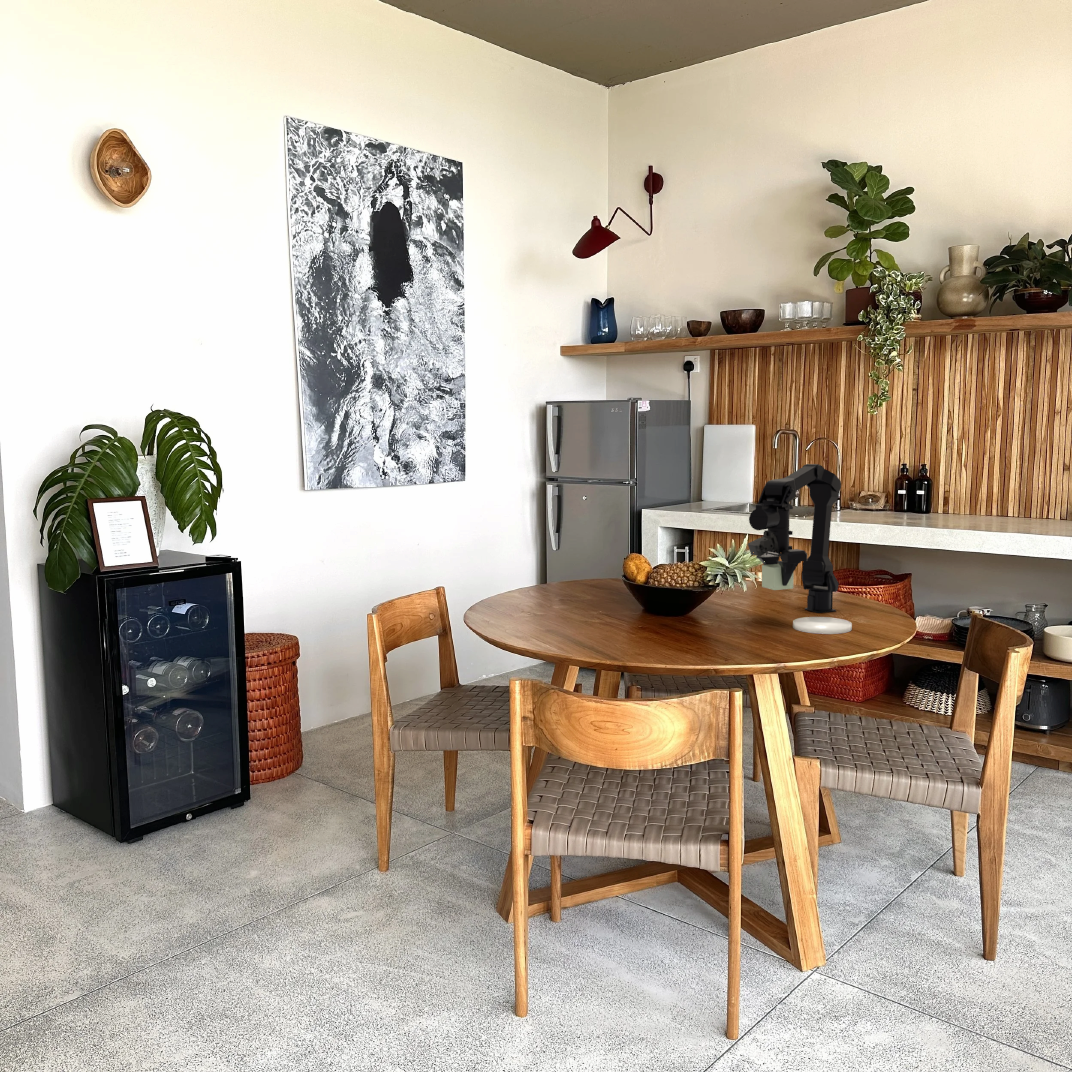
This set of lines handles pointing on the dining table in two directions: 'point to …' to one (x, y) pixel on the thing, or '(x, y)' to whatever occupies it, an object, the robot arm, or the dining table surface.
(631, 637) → the dining table surface
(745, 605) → the dining table surface
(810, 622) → the plate
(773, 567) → the sage cube
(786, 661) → the dining table surface
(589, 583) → the dining table surface
